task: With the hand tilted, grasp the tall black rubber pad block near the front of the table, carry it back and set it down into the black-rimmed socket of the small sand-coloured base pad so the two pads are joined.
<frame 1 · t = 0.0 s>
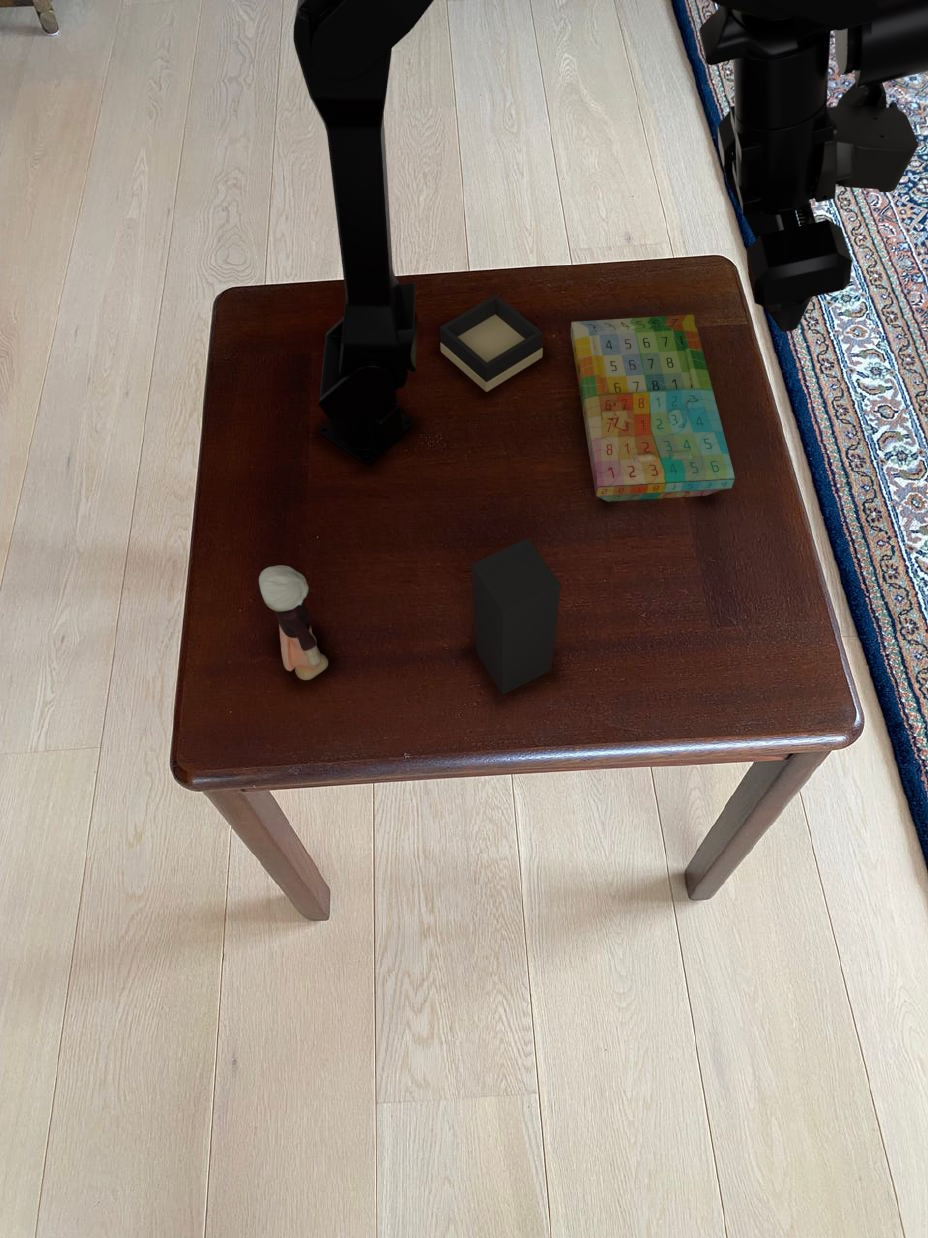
hand: (778, 288, 73), 15 cm above the table, tool pointing down, fingers open, 9 cm apart
base pad: (491, 354, 92), on the table
grandmother figurine: (308, 661, 75), on the table
pad block: (513, 661, 74), on the table
puzzle game: (642, 425, 87), on the table
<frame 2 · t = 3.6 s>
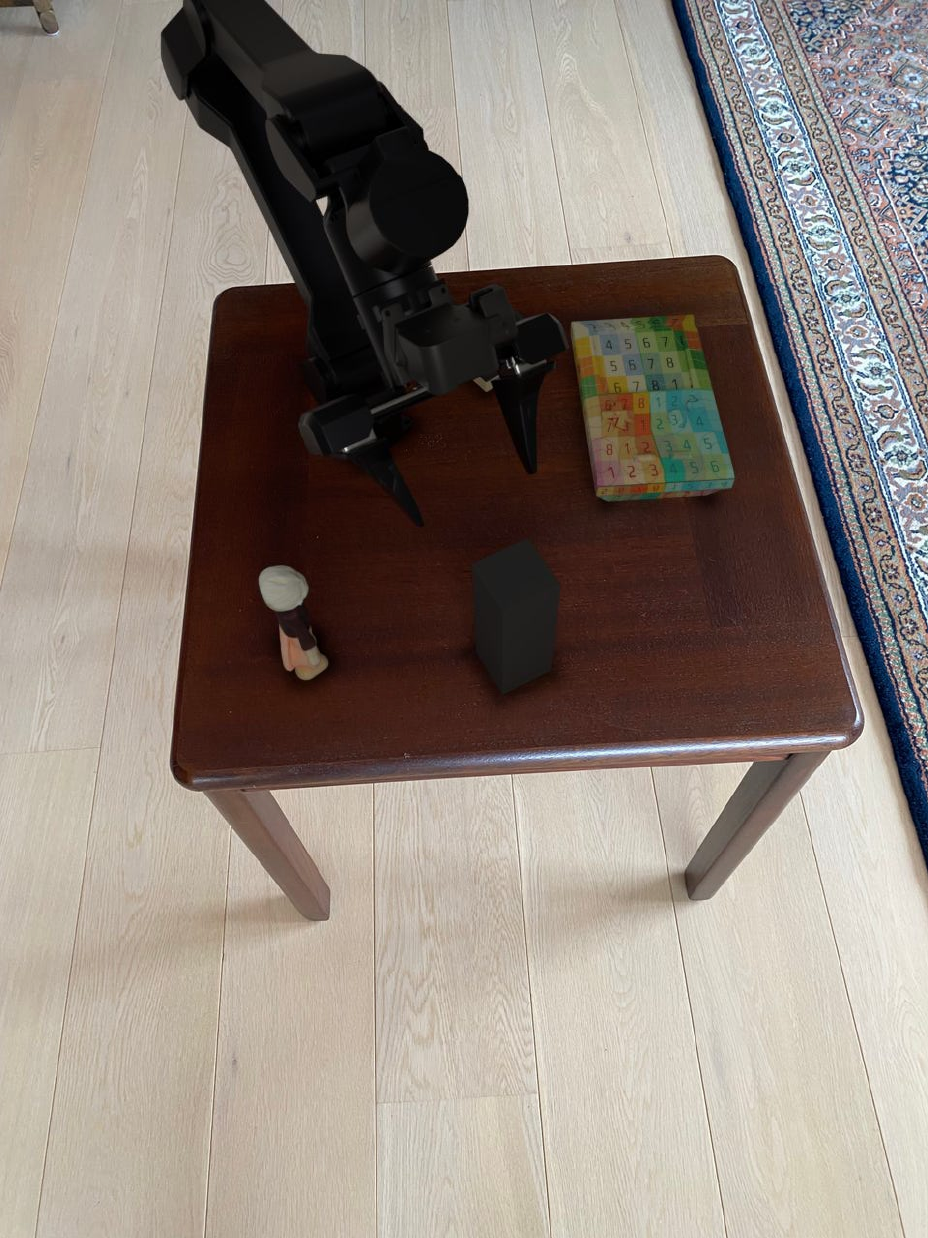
hand: (477, 499, 66), 14 cm above the table, tool tilted 45°, fingers open, 9 cm apart
nothing on the table moved.
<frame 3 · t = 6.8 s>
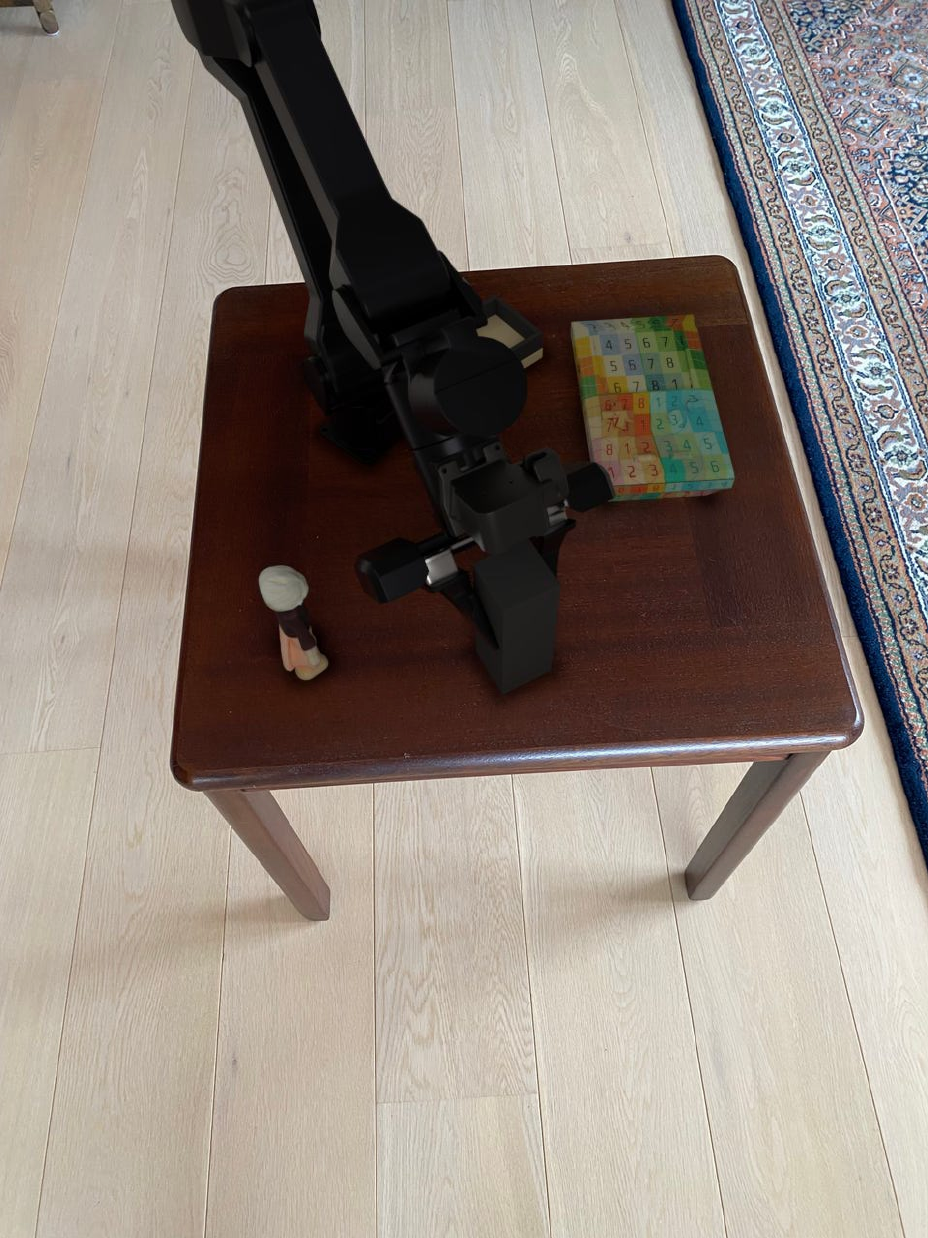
hand: (523, 634, 68), 7 cm above the table, tool tilted 45°, fingers closed on pad block, 4 cm apart
pad block: (513, 661, 74), on the table, touching gripper
everything else where it was.
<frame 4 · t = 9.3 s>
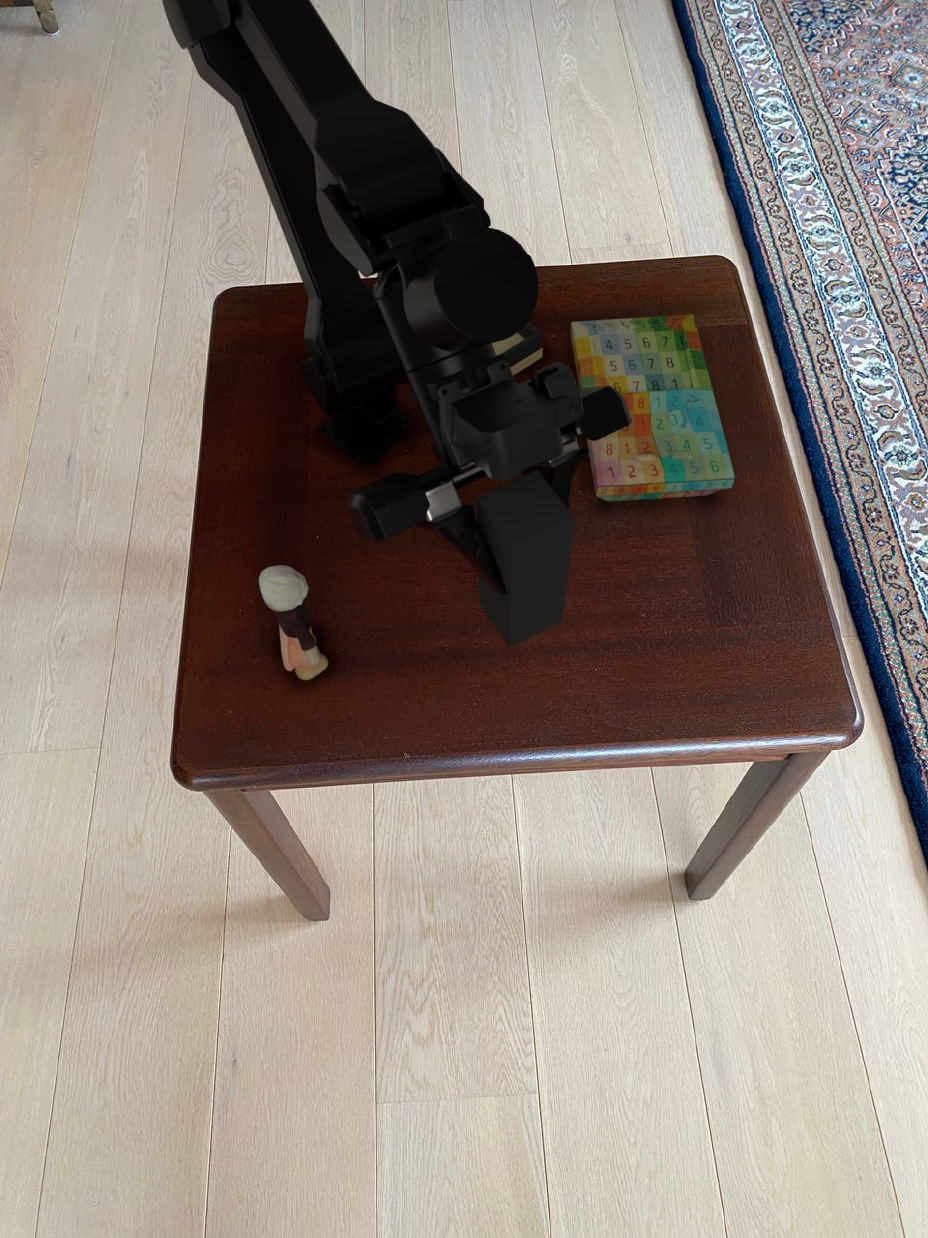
hand: (533, 578, 62), 14 cm above the table, tool tilted 45°, fingers closed on pad block, 4 cm apart
pad block: (520, 612, 69), point 7 cm above the table, touching gripper
everything else where it was.
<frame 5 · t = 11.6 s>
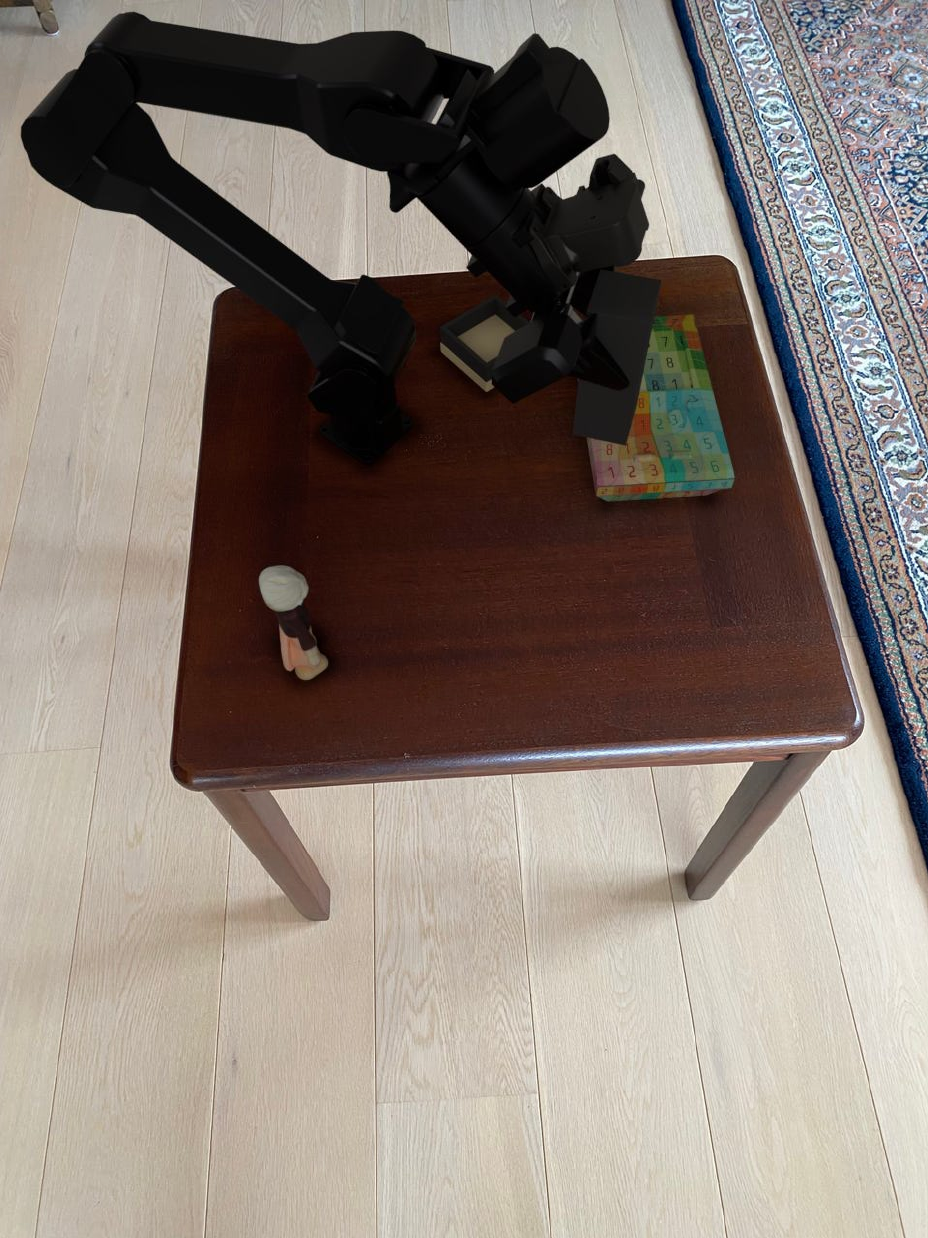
hand: (631, 365, 71), 14 cm above the table, tool tilted 45°, fingers closed on pad block, 4 cm apart
pad block: (604, 420, 77), point 8 cm above the table, touching gripper
everything else where it was.
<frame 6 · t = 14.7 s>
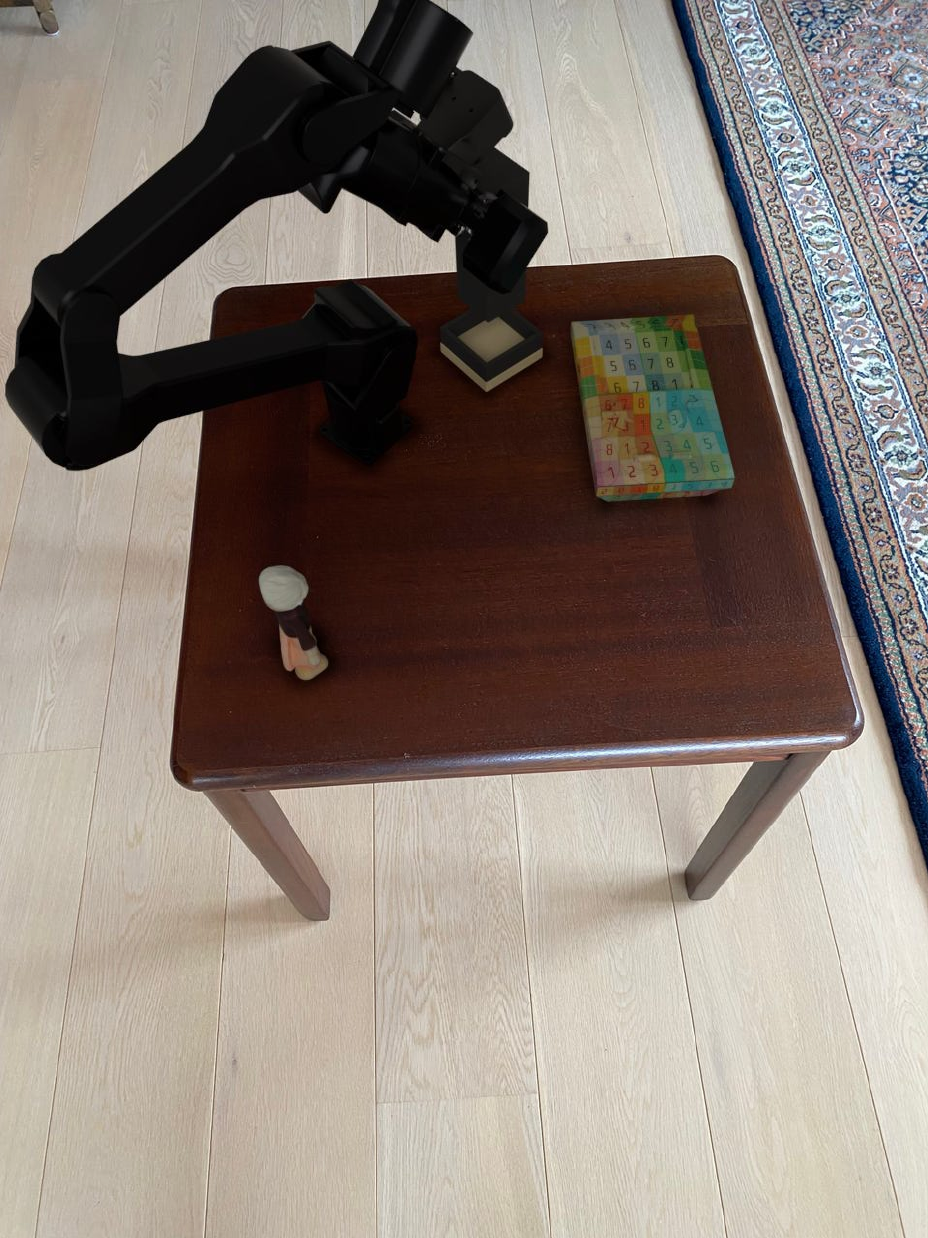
hand: (502, 231, 80), 13 cm above the table, tool tilted 45°, fingers closed on pad block, 4 cm apart
pad block: (491, 299, 86), point 7 cm above the table, touching gripper
everything else where it was.
when the fingers open (8 cm above the table, at t = 16.7 s): pad block stays where it is, resting on base pad.
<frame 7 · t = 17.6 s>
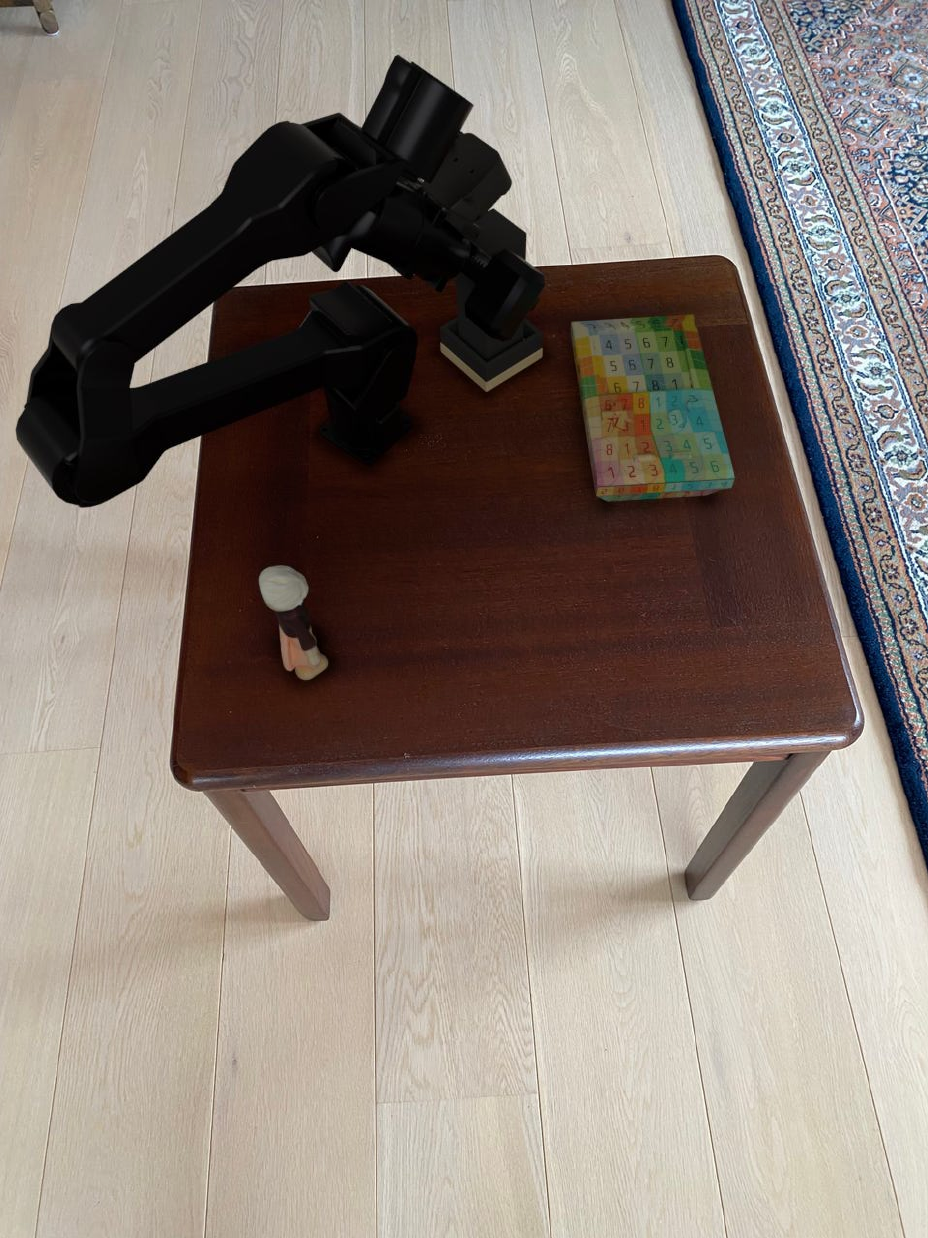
hand: (502, 277, 85), 9 cm above the table, tool tilted 45°, fingers open, 9 cm apart
pad block: (490, 345, 91), point 1 cm above the table, touching base pad
everything else where it was.
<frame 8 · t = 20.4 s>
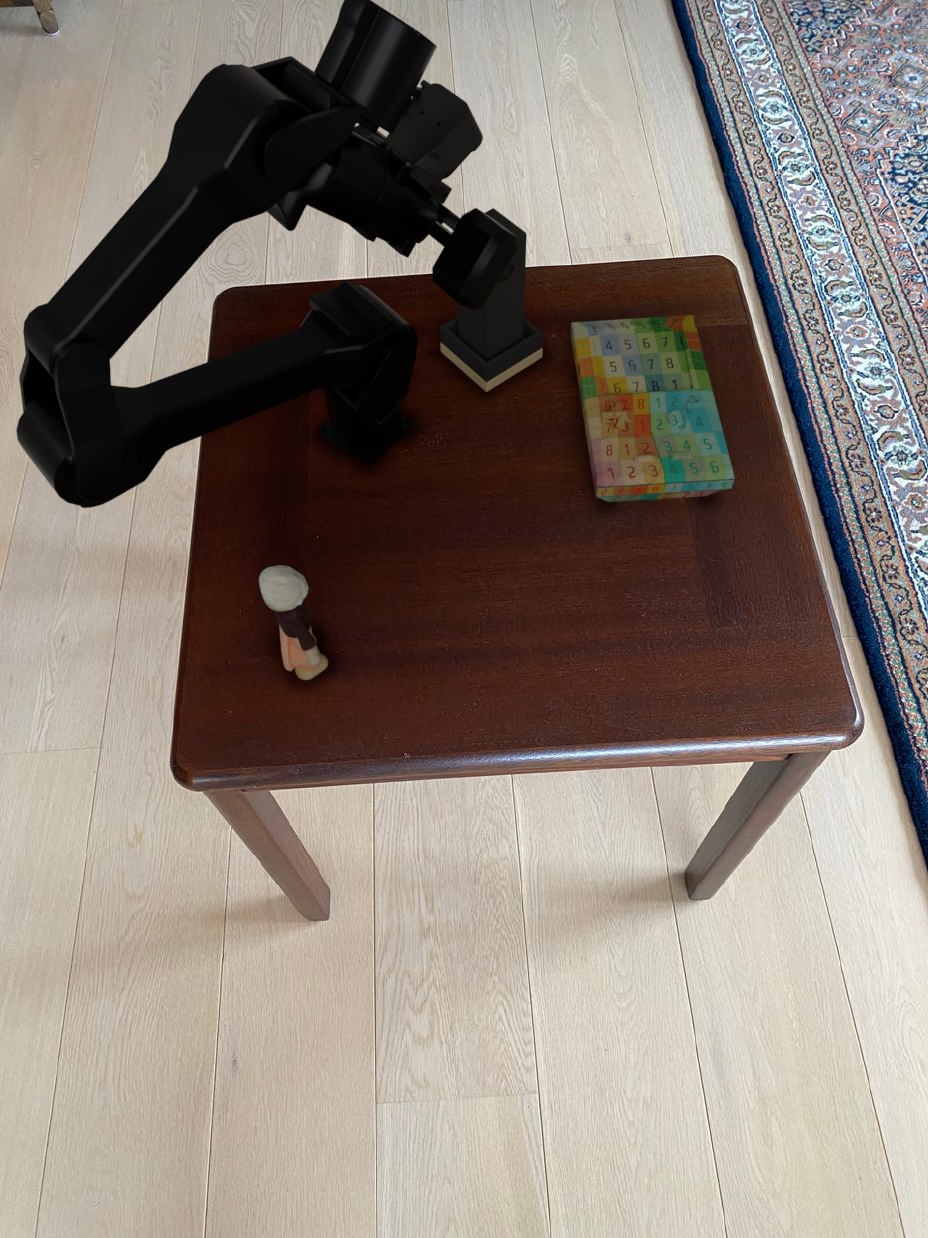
hand: (476, 244, 79), 14 cm above the table, tool tilted 45°, fingers open, 9 cm apart
nothing on the table moved.
at the end: pad block 0.0 cm off-centre on the base pad, point 1.2 cm above the base pad's base; pad block tilted 0°; the gripper is holding nothing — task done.
